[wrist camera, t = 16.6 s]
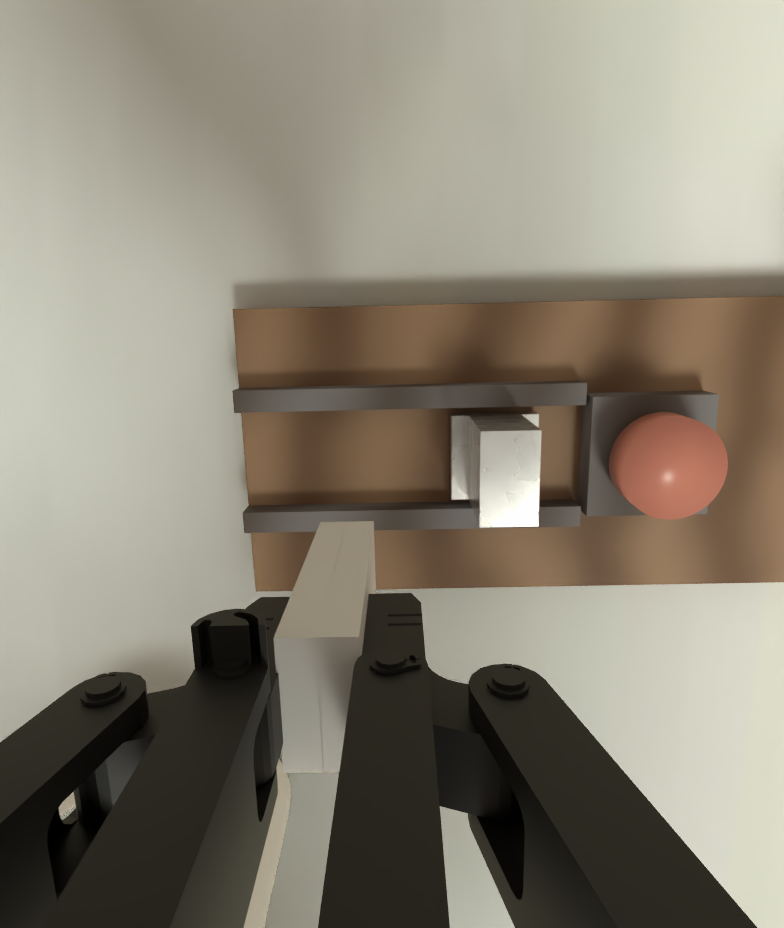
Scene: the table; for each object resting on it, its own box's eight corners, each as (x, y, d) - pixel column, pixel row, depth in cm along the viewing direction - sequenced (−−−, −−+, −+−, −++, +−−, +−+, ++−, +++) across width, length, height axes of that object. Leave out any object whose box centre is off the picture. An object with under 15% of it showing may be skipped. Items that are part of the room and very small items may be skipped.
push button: (713, 410, 26) (733, 416, 25) (703, 507, 27) (722, 518, 26) (611, 413, 27) (625, 418, 25) (606, 509, 28) (618, 520, 26)
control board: (987, 292, 29) (1088, 287, 25) (933, 563, 33) (1015, 600, 28) (243, 309, 30) (217, 308, 26) (264, 575, 33) (244, 613, 29)
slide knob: (535, 411, 29) (561, 429, 24) (532, 493, 30) (557, 525, 25) (450, 413, 29) (460, 432, 24) (450, 494, 30) (460, 527, 25)
